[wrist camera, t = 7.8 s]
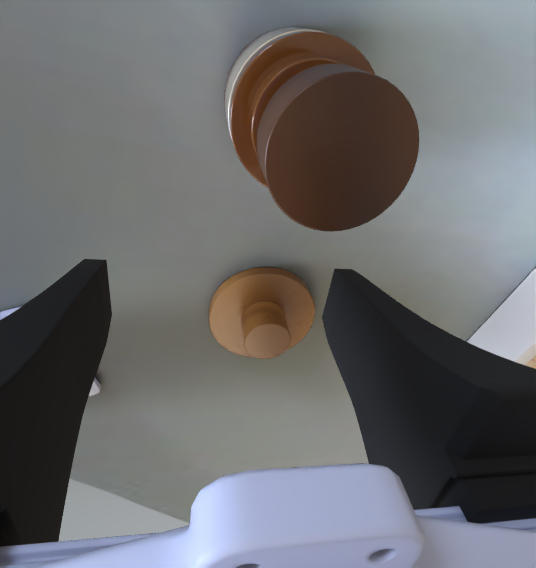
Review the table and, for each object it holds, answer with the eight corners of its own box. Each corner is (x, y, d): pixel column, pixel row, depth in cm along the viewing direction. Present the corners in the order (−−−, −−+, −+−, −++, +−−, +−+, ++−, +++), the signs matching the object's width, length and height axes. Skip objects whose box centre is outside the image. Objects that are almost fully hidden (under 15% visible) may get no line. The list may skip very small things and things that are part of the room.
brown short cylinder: (272, 220, 15) (281, 247, 13) (241, 85, 12) (247, 97, 10) (394, 188, 15) (419, 211, 13) (390, 45, 12) (420, 51, 10)
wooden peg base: (224, 359, 28) (227, 392, 26) (194, 282, 24) (193, 313, 22) (318, 334, 28) (330, 366, 26) (303, 254, 24) (315, 281, 22)
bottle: (241, 177, 21) (258, 243, 15) (207, 46, 17) (211, 64, 12) (353, 147, 21) (414, 202, 15) (342, 10, 17) (415, 10, 11)
